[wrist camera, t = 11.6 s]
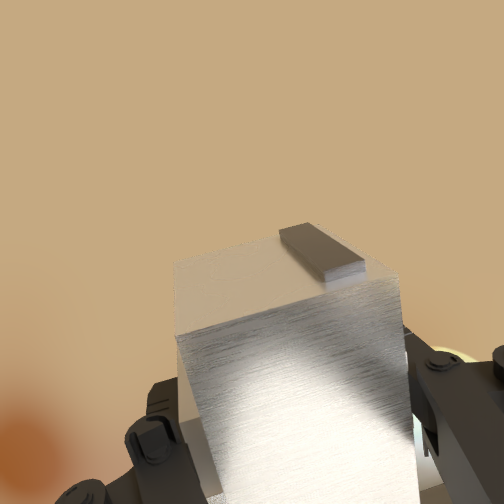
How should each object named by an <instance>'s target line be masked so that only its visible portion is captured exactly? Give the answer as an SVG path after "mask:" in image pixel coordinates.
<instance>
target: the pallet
mask: <svg viewBox="0 0 504 504" xmlns="http://www.w3.org/2000/svg"><path fill="white" fill-rule="evenodd" d="M419 497H420V504H453V502H452V500H451V498H450V496H449V494H448V491H447V489H446V487H445V485H444V483H443V484H440V485H438V486H435V487H432V488H429V489H426V490H423V491H421V492H419Z"/></svg>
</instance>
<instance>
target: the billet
mask: <svg viewBox="0 0 504 504" xmlns="http://www.w3.org/2000/svg"><path fill="white" fill-rule="evenodd" d="M174 307H175V308H174V309H175V311H174V312H175V338H176V341H177V345H178V348H179V351H180V354H181V357H182V361H183V364H184V367H185V370H186V373H187V377H188V380H189V383H190V386H191V389H192V393H193V396H194V399H195V402H196V405H197V409H198V412H199V415H200V418H201V421H202V425H203V428H204V431H205V434H206V438H207V441H208V444H209V447H210V450H211V454H212V457H213V460H214V463H215V466H216V470H217V473H218V476H219V479H220V482H221V486H222V489H223V492H224V495H225V498H226V502H227V504H420V497H419V487H418V476H417V466H416V456H415V445H414V435H413V425H412V414H411V404H410V394H409V383H408V373H407V363H406V352H405V342H404V332H403V321H402V312H401V302H400V290H399V280H398V273H397V272H396V271H394V270H392V269H391V268H389V267H387V266H385V265H384V264H383V263H381V262H379V261H378V260H376V259H374V258H373V257H371V256H370V255H368V254H366V253H365V252H363V251H361V250H360V249H358V248H357V247H355V246H353V245H352V244H350V243H348V242H347V241H345V240H344V239H342V238H340V237H339V236H337V235H335V234H334V233H332V232H330V231H329V230H327V229H326V228H324V227H323V226H321V225H319V224H317V225H311V224H310V223H304V224H300V225H296V226H292V227H288V228H285V229H281V230H279V235H275V236H271V237H267V238H263V239H260V240H256V241H252V242H248V243H244V244H240V245H237V246H233V247H229V248H225V249H222V250H217V251H214V252H210V253H206V254H202V255H198V256H195V257H191V258H187V259H183V260H179V261H176V262H174Z"/></svg>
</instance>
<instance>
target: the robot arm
mask: <svg viewBox="0 0 504 504" xmlns="http://www.w3.org/2000/svg"><path fill="white" fill-rule="evenodd" d="M403 332H404V342H405V352H406V363H407V373H408V383H409V394H410V404H411V414H412V413H413V414H414V415H415V416H416V417H417V418H418V420H419V421H420V422H421V426H422V438H423V449H424V455H425V457H427V456H429V455H428V449H429V451H430V454H431V456H432V458H433V460H434V462H435V465H436V467H437V469H438V471H439V474H440V476H441V478H442V480H443V482H444V485H445V487H446V489H447V491H448V494H449V496H450V498H451V500H452V502H453V504H504V345H502V346H500V347H498V348H496V349H495V350H494V352H493V361H485V362H471V363H465V362H464V361H463V360H462V359H461V358H460V357H459V356H457V355H454V354H452V353H449V352H444V351H434V350H433V349H432V348H431V347H430V346H428V345H427V344H426V343H425V342H424V341H422V340H421V339H420V338H419V337H417V336H416V335H415V334H414V333H412V332H411V331H410V330H409V329H408V328H407V327H406V328H405V326H404V325H403ZM177 369H178V370H177V371H178V377H175V378H172V379H169V380H165V381H162V382H158V383H155V384H154V385H153V387H152V389H151V390H150V392H149V394H148V398H147V409H146V416H144V417H142V418H140V419H139V420H137V421H136V422H135V423H134V424H133V425H132V426H131V427H130V428H129V429H128V431H127V433H126V435H125V445H126V448H127V450H128V453H129V455H130V458H131V460H132V463H133V465H134V466H133V467H132V468H131V469H130V470H129V471H128V472H127V473H126V474H124V475H123V476H121V477H120V478H118V479H117V480H115V481H113V482H111V483H110V484H108V485H106V486H105V485H104V484H103V483H102V482H101V481H100V480H96V479H89V480H84V481H81V482H79V483H77V484H75V485H73V486H72V487H71V488H69V489H68V490H67V491H65V492H64V493H63V494H62V495H61V496H60V498H59V499H58V500H57V501H56V502H55V504H208V502H207V500H206V498H208V497H211V496H214V495H217V494H220V493H223V489H222V486H221V482H220V479H219V476H218V473H217V470H216V466H215V463H214V460H213V457H212V454H211V450H210V447H209V444H208V441H207V438H206V434H205V431H204V428H203V425H202V421H201V418H200V415H199V412H198V409H197V405H196V402H195V399H194V396H193V393H192V389H191V386H190V383H189V380H188V377H187V373H186V370H185V367H184V364H183V361H182V357H181V354H180V351H179V348H178V345H177ZM413 414H412V425H413V428H414V424H413Z"/></svg>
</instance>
